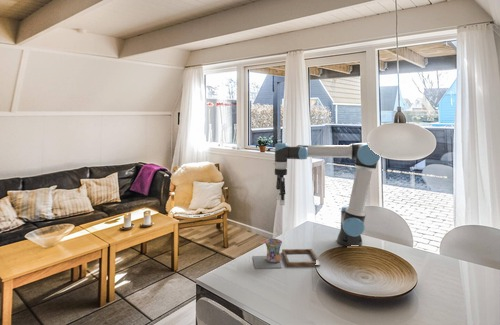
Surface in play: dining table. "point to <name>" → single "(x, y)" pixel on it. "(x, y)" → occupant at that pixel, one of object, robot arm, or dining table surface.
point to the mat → (264, 263)
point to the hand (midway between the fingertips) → (280, 202)
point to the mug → (273, 250)
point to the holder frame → (299, 264)
